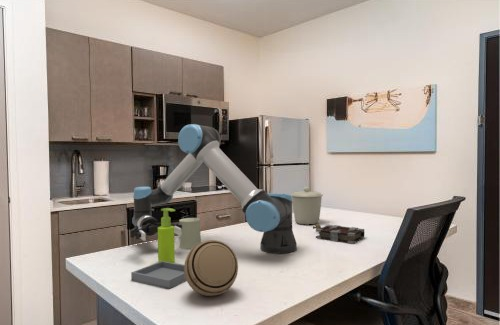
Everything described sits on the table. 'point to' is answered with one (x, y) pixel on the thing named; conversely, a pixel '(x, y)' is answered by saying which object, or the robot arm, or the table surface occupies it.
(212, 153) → the robot arm
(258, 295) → the table surface
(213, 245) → the tan ball
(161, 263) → the tray
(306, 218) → the canister
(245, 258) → the table surface
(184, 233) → the can
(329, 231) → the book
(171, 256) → the soap dispenser
